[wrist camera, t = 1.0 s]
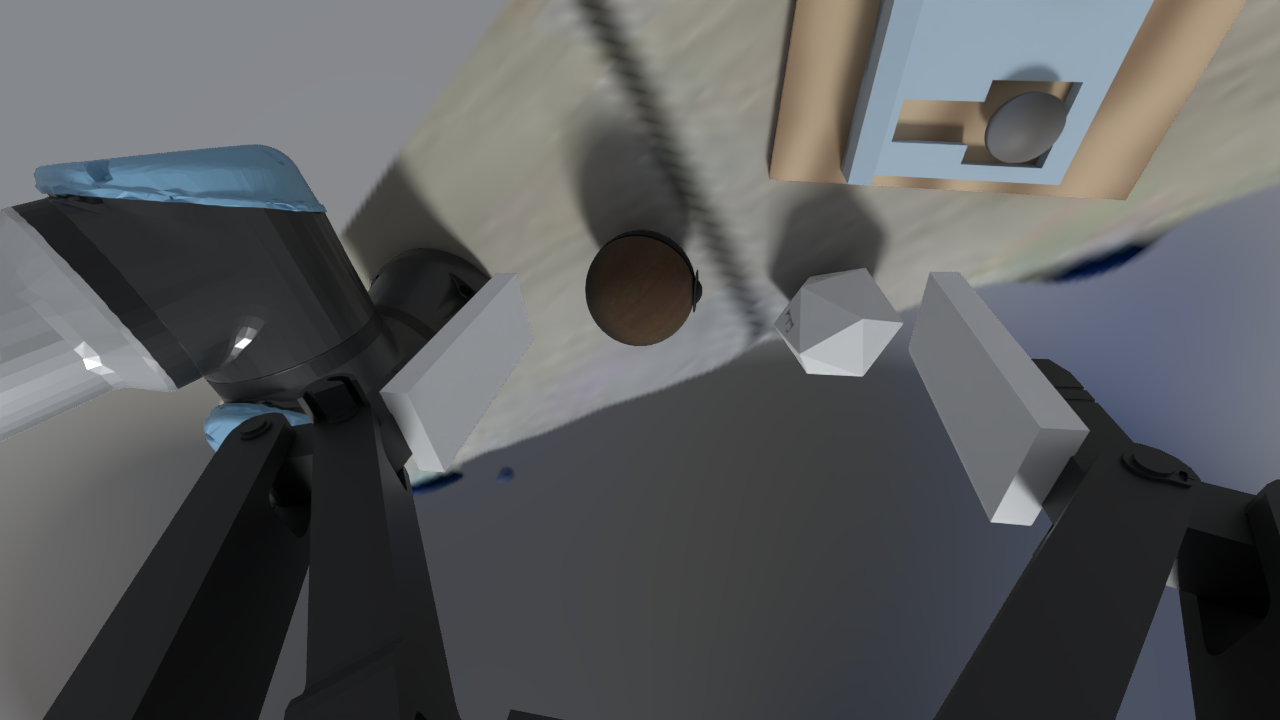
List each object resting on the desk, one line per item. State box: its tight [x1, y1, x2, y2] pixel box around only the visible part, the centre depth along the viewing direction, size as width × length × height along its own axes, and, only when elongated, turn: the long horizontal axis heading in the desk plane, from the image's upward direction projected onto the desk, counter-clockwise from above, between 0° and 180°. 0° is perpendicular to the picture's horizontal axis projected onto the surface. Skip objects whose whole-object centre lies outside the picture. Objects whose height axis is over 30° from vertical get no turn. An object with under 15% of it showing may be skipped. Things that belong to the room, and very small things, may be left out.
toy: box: [585, 230, 702, 346], centre depth 40 cm, size 9×10×10 cm
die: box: [774, 268, 903, 376], centre depth 39 cm, size 8×9×10 cm
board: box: [769, 0, 1246, 200], centre depth 29 cm, size 24×18×4 cm
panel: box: [840, 0, 1154, 185], centre depth 28 cm, size 14×16×4 cm
